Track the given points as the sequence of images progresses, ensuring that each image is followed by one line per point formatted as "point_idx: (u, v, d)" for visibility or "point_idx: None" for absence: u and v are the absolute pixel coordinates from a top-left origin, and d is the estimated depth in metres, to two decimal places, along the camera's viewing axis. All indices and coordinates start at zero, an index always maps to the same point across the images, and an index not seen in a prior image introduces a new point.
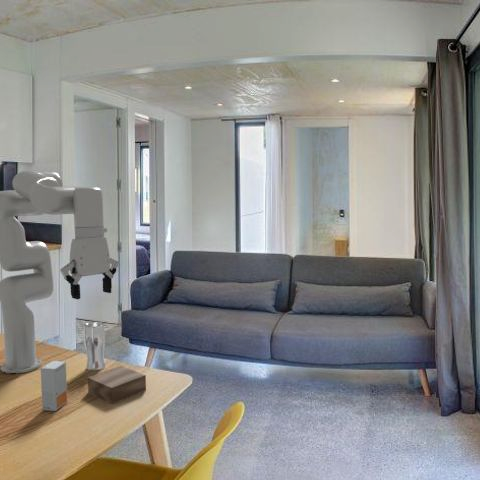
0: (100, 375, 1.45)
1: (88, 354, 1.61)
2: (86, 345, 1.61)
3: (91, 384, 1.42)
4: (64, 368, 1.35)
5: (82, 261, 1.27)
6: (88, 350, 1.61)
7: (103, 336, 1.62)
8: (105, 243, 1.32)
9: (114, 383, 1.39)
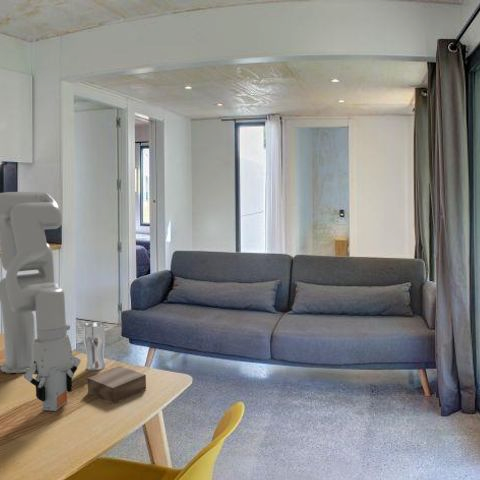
0: (99, 375, 1.44)
1: (88, 354, 1.61)
2: (86, 345, 1.61)
3: (91, 384, 1.42)
4: None
5: (44, 363, 1.29)
6: (88, 350, 1.61)
7: (103, 336, 1.62)
8: (67, 342, 1.34)
9: (115, 383, 1.39)
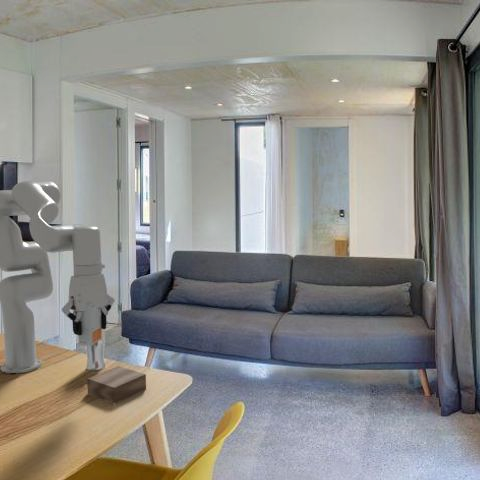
0: (99, 376, 1.44)
1: (88, 354, 1.61)
2: (86, 345, 1.61)
3: (91, 385, 1.42)
4: None
5: (80, 298, 1.33)
6: (88, 350, 1.61)
7: (103, 336, 1.62)
8: (103, 279, 1.38)
9: (116, 383, 1.39)
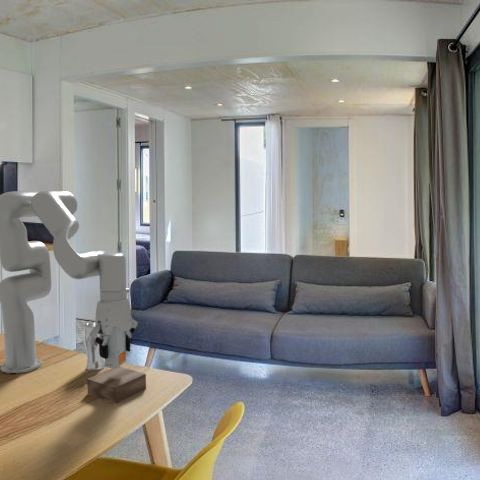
0: (99, 376, 1.44)
1: (88, 354, 1.61)
2: (86, 345, 1.61)
3: (91, 385, 1.42)
4: None
5: (107, 322, 1.38)
6: (88, 350, 1.61)
7: None
8: (127, 304, 1.43)
9: (116, 383, 1.39)
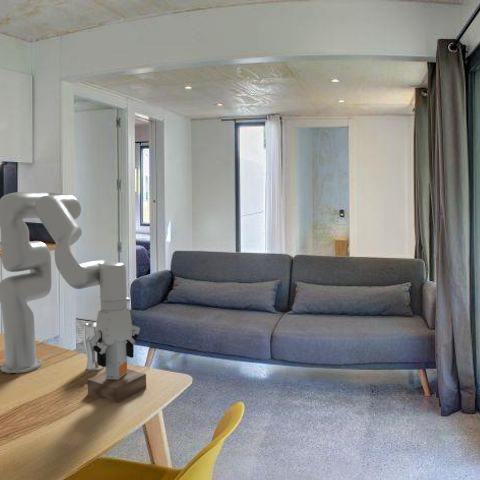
0: (99, 376, 1.44)
1: (88, 354, 1.61)
2: (86, 345, 1.61)
3: (91, 386, 1.41)
4: None
5: (108, 332, 1.38)
6: (88, 350, 1.61)
7: None
8: (128, 313, 1.43)
9: (117, 383, 1.39)
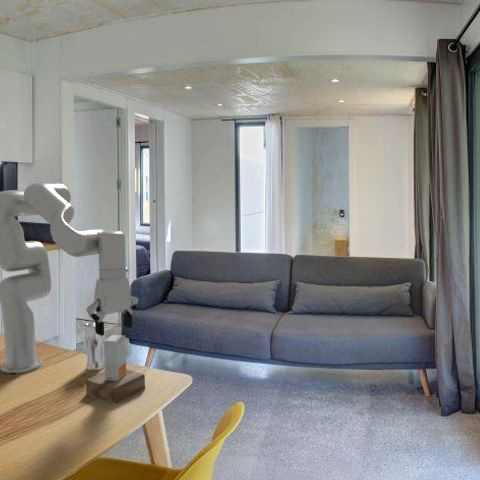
0: (98, 377, 1.44)
1: (88, 354, 1.61)
2: (86, 345, 1.61)
3: (90, 386, 1.41)
4: (124, 341, 1.44)
5: (106, 300, 1.37)
6: (88, 350, 1.61)
7: (103, 336, 1.62)
8: (127, 282, 1.42)
9: (116, 384, 1.39)
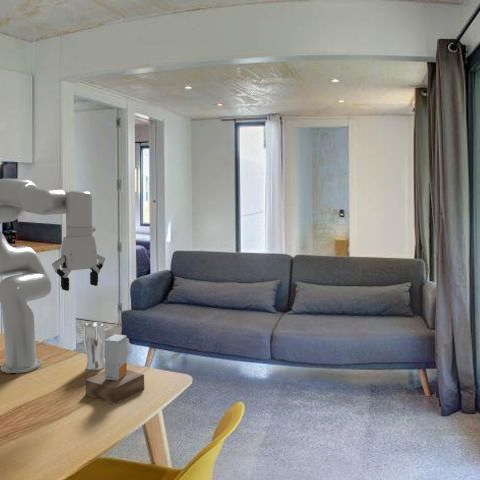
0: (97, 377, 1.44)
1: (88, 354, 1.61)
2: (86, 345, 1.61)
3: (89, 386, 1.41)
4: (125, 341, 1.44)
5: (72, 257, 1.43)
6: (88, 350, 1.61)
7: (103, 336, 1.62)
8: (93, 241, 1.48)
9: (115, 384, 1.39)
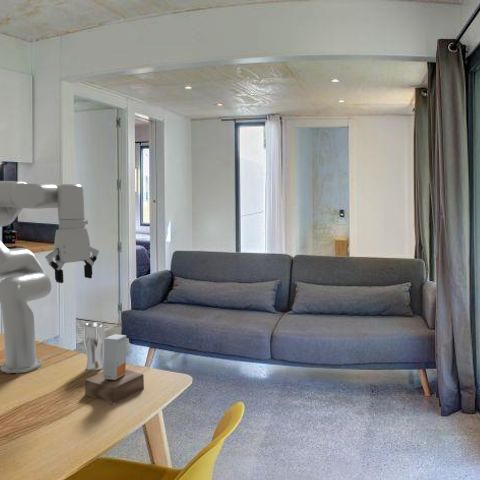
0: (96, 377, 1.44)
1: (88, 354, 1.61)
2: (86, 345, 1.61)
3: (89, 386, 1.41)
4: (125, 341, 1.45)
5: (65, 249, 1.44)
6: (88, 350, 1.61)
7: (103, 336, 1.62)
8: (86, 234, 1.49)
9: (114, 383, 1.39)
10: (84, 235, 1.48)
